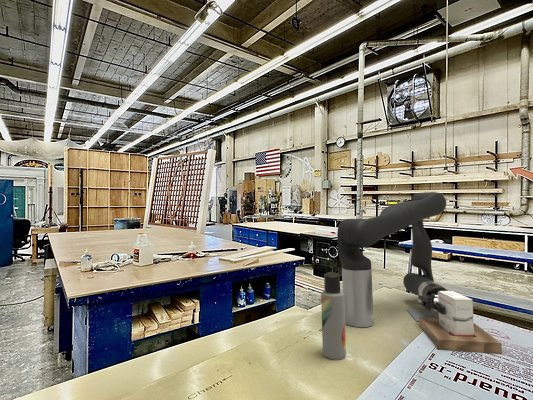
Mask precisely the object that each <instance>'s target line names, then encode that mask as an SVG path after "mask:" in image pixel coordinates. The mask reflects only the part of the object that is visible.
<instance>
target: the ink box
mask: <svg viewBox="0 0 533 400" xmlns="http://www.w3.org/2000/svg"><path fill="white" fill-rule="evenodd" d="M473 301H474V300H473V298H470V297H467V296H466V295H463V294H460V293H458V292H456V291H452V290H448V291H438V303H440V304H442V305H443V306H444V307H445V315H443V314H441V313H439V325H440V326H441V327H442V328H443V329H444V330H445V331H446V332H447V333H448V334H449V335H450V336H464V337H474V324H473V323H474V306H473V305H474V304H473Z"/></svg>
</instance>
